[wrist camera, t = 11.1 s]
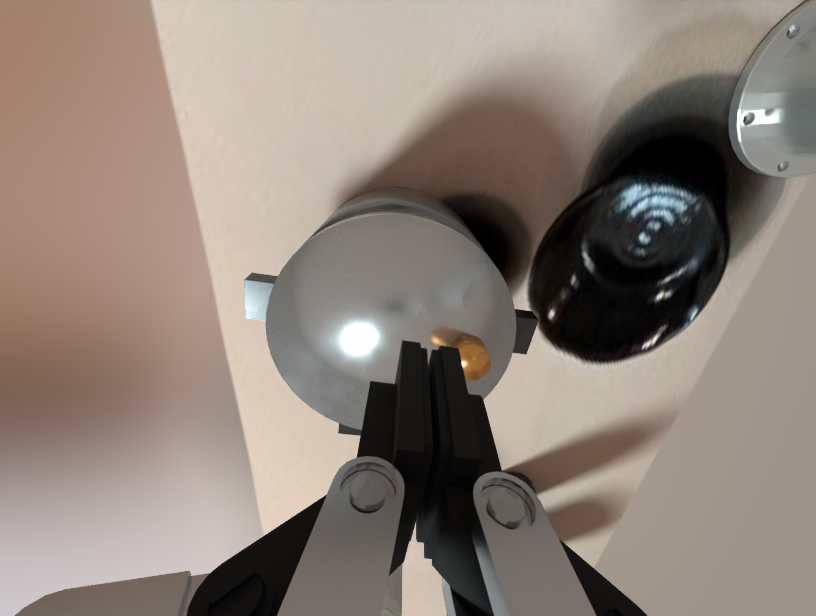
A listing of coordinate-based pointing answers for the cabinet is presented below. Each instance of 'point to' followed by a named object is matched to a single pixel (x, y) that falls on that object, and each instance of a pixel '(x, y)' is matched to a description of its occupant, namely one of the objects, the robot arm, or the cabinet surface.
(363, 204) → the pot
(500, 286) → the lid
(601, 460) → the cabinet surface
